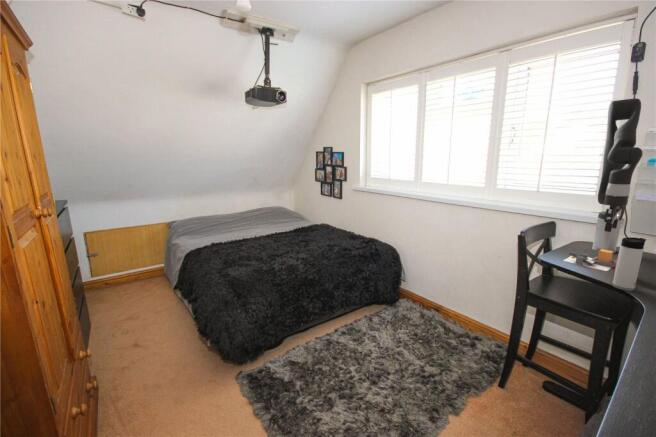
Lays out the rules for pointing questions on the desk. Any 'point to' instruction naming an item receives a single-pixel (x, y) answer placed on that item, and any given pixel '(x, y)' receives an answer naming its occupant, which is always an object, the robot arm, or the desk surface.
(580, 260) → the switch mount
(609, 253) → the block
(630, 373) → the desk surface
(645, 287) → the desk surface
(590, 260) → the breaker rocker
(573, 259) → the breaker panel
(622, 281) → the travel mug
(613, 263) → the lockout socket
